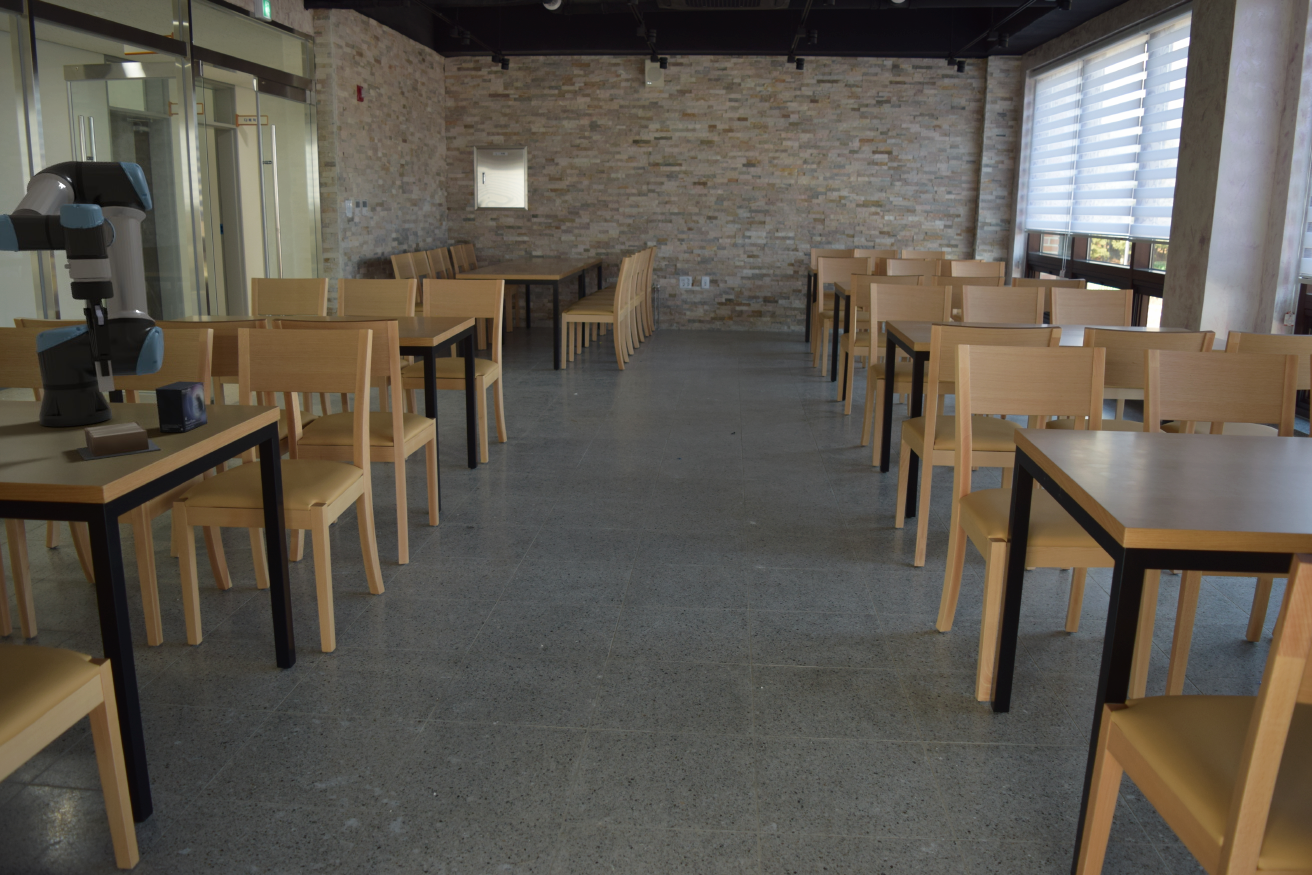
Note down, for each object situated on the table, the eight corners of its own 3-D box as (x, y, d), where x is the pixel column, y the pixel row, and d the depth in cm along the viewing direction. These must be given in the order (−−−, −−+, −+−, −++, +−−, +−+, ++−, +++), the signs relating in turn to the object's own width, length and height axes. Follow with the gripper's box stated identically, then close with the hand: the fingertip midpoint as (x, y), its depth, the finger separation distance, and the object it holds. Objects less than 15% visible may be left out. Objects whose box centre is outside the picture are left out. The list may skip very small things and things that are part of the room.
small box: (186, 433, 211) (181, 388, 208) (158, 433, 211) (153, 388, 208) (209, 423, 221) (204, 380, 219) (183, 423, 221) (177, 380, 219)
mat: (76, 449, 195) (76, 448, 195) (149, 440, 204) (149, 438, 204) (84, 460, 186) (84, 459, 186) (160, 450, 194) (160, 448, 194)
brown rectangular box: (84, 427, 196) (92, 437, 187) (136, 421, 202) (146, 430, 193) (86, 446, 197) (95, 456, 188) (138, 439, 203) (149, 449, 194)
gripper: (66, 279, 193) (82, 388, 198) (73, 282, 183) (91, 397, 188) (106, 278, 197) (121, 385, 202) (116, 280, 187) (132, 392, 192)
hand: (107, 390), depth 195 cm, fingers closed
